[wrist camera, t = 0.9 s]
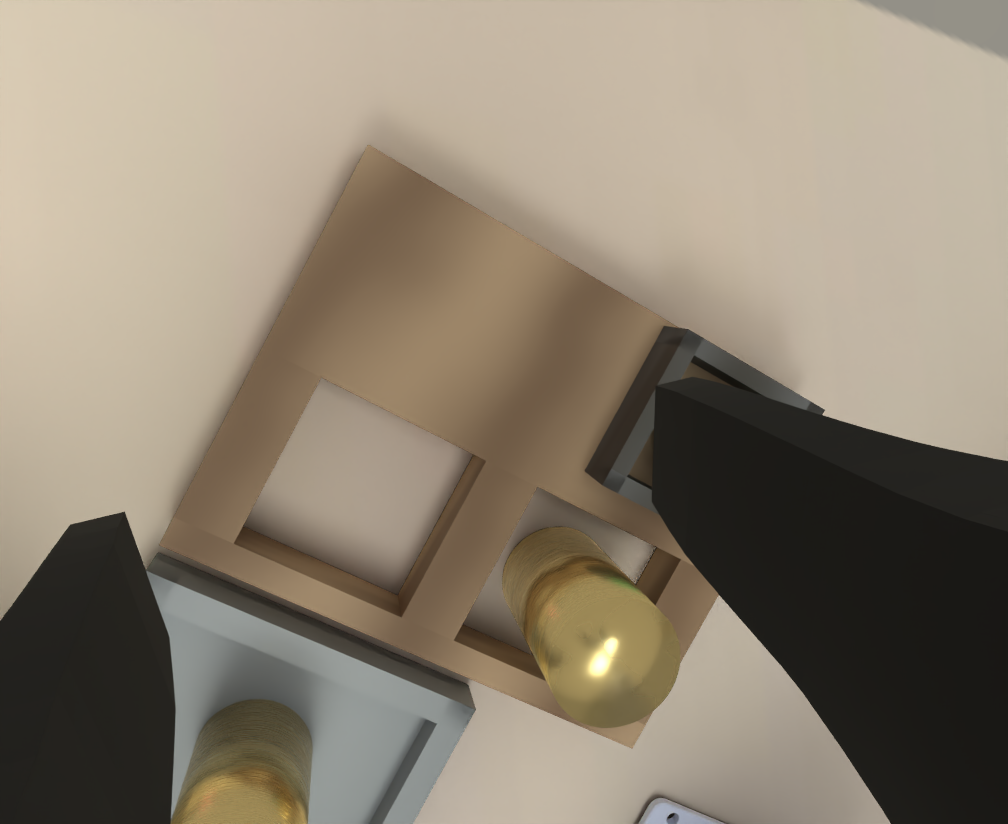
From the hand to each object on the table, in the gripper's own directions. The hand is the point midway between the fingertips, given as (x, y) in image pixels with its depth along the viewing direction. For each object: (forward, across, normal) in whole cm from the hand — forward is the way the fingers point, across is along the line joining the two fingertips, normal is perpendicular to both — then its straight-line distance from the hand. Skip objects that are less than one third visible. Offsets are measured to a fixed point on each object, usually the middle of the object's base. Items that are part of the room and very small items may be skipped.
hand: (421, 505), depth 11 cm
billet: (+12, +5, +18) cm, 22 cm away
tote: (+13, +5, +18) cm, 23 cm away
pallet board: (+15, -6, +10) cm, 18 cm away
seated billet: (+13, -7, +14) cm, 20 cm away
